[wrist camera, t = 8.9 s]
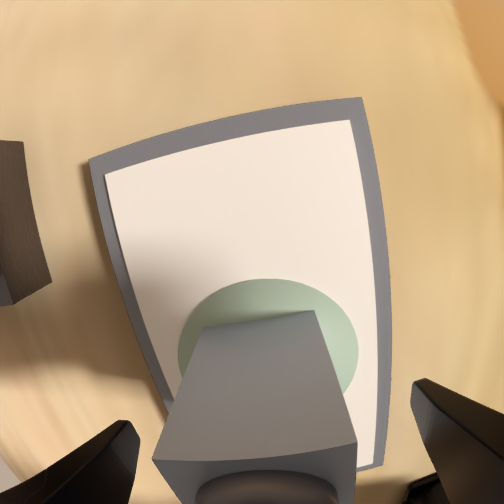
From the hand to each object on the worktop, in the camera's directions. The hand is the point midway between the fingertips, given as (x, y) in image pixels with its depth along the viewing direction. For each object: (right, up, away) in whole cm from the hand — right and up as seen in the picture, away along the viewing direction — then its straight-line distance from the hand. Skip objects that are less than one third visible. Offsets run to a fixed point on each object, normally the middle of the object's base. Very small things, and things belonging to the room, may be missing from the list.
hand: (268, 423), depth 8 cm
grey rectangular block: (0, +1, +3) cm, 3 cm away
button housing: (-14, +6, +4) cm, 16 cm away
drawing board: (0, +1, +5) cm, 5 cm away
